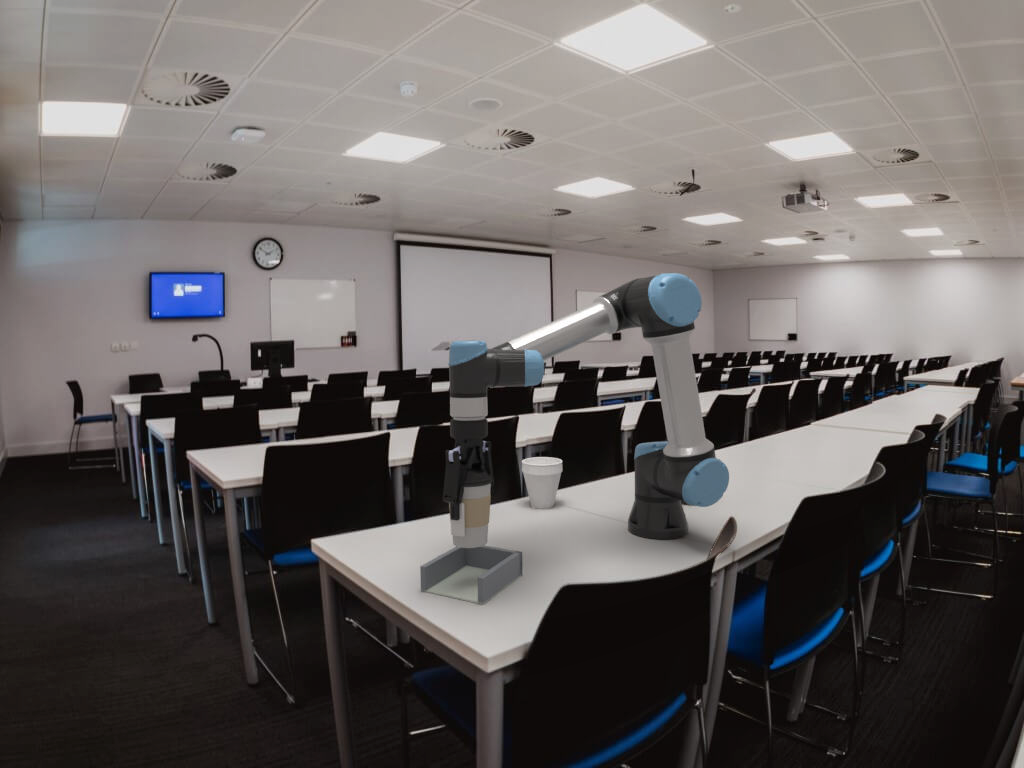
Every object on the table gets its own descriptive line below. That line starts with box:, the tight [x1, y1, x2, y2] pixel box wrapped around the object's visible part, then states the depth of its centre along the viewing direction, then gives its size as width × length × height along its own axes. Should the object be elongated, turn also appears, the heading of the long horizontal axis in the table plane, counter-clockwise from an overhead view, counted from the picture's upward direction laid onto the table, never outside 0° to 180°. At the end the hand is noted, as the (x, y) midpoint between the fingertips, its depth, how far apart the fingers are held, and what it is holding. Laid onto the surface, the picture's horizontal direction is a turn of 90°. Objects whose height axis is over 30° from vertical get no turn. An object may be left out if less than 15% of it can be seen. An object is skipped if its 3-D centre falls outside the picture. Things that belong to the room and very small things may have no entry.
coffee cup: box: [448, 468, 492, 548], centre depth 123 cm, size 9×9×15 cm
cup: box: [521, 456, 563, 510], centre depth 182 cm, size 12×12×14 cm
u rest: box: [419, 545, 523, 605], centre depth 124 cm, size 14×16×5 cm
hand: (470, 528), depth 123 cm, fingers closed on coffee cup, 8 cm apart
